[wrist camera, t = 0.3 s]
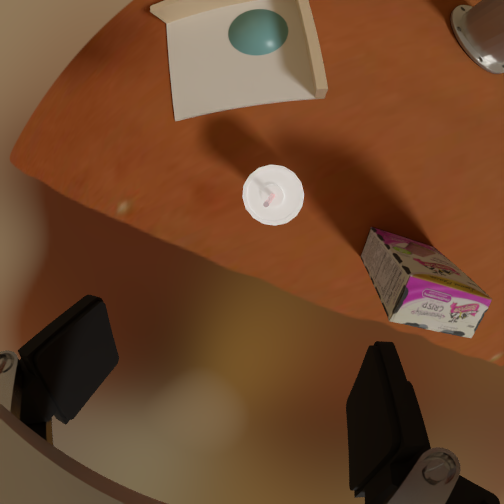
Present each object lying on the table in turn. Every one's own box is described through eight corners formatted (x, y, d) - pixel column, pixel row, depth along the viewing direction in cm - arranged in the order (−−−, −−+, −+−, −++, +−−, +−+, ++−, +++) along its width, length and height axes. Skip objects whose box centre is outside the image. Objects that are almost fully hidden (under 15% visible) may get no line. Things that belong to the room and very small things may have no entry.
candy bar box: (435, 244, 34) (494, 299, 18) (423, 275, 35) (472, 340, 20) (369, 223, 35) (411, 273, 19) (358, 257, 36) (387, 325, 21)
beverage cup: (278, 152, 34) (261, 151, 21) (313, 184, 34) (319, 202, 21) (247, 187, 36) (214, 207, 23) (282, 217, 37) (269, 254, 24)
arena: (301, -9, 24) (299, -29, 19) (324, 98, 30) (327, 88, 25) (167, 19, 29) (150, 6, 24) (176, 121, 34) (157, 117, 29)
